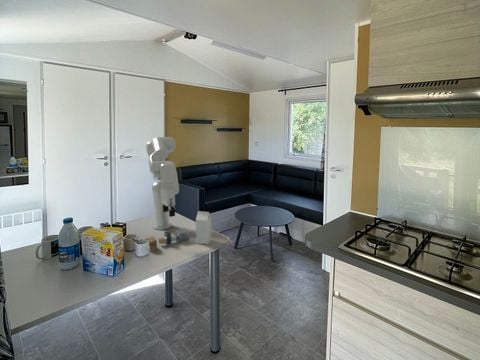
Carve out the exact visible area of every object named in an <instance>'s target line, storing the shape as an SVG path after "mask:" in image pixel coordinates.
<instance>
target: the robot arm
mask: <svg viewBox="0 0 480 360" xmlns="http://www.w3.org/2000/svg"><path fill="white" fill-rule="evenodd" d="M145 146H146V147H145V148H146V153H147V155H148V157H149V158H148V167H149V172H150V173H151V174H152V177H153V179H154V180H155V181H156V182H153V184H152V185H151V191H152V197H153V205H154V207H153V209H154V223H153V225H152V228H153V229H154V230H161V231H162V230H168V229H170V228H171V227H172V226H173V224H172V223H171V222H170V218H172V217H176V196H175V195H177V194H179V192H180V186H179V179H178V171H177V169H176V164H175V163H174V162H173V160H172V161H171V160H166V159H167V158H168V157H169V154H170V153H172V152H174V150H175V149H176V140H175V139H174V137H172V136H157V137H154V138H153V140H151V141H147V142H146V145H145Z"/></svg>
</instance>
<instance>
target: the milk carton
mask: <svg viewBox="0 0 480 360" xmlns="http://www.w3.org/2000/svg"><path fill="white" fill-rule="evenodd" d="M211 240H212V216H211V215H210V211H200V210H199V211H197V215H196V218H195V243H196V244H198V245H199V244H201V245H208V244H209V243H210V242H211Z"/></svg>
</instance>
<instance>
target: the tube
mask: <svg viewBox="0 0 480 360" xmlns="http://www.w3.org/2000/svg"><path fill="white" fill-rule="evenodd" d="M175 240H178V235H177V234H176V235H175V234H172V233H171V232H170V231H169V230H167V231H164V237H160V238H158V243H159V244H160V245H163V244H165V245H166V246H169V245H172V242H175Z"/></svg>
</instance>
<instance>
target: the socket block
mask: <svg viewBox="0 0 480 360" xmlns="http://www.w3.org/2000/svg"><path fill="white" fill-rule="evenodd" d="M144 238H145V241H146V240H148V241H149V246H150V251H149V252H153V251H154V252H155V251H157V250H158V245H157V242H158V241H157V238H155V237H154V236H153V235H151V236H150V235H149V236H146V237H144Z"/></svg>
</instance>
